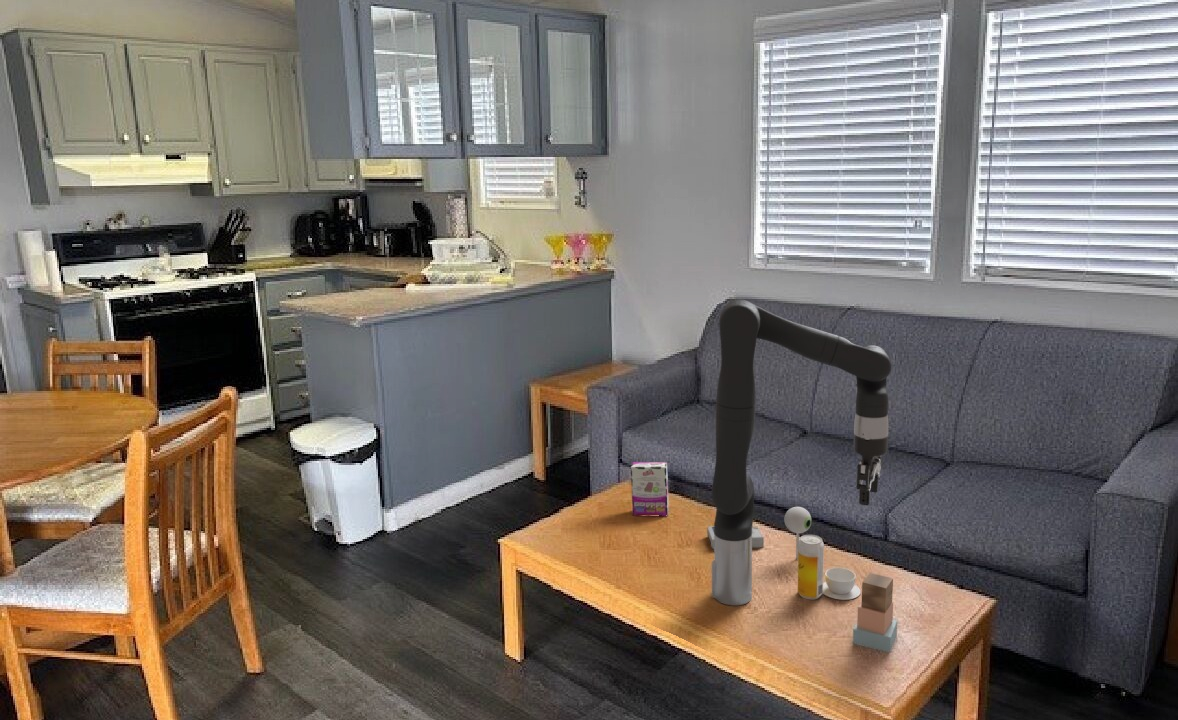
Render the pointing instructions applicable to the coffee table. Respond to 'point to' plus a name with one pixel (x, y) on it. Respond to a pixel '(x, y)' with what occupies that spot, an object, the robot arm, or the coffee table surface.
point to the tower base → (875, 637)
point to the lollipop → (797, 522)
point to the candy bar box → (649, 488)
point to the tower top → (874, 619)
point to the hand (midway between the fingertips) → (868, 498)
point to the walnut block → (877, 592)
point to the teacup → (840, 584)
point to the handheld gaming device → (756, 537)
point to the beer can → (810, 566)
